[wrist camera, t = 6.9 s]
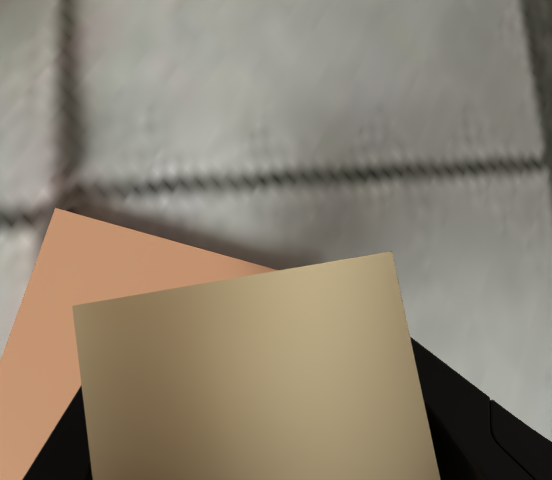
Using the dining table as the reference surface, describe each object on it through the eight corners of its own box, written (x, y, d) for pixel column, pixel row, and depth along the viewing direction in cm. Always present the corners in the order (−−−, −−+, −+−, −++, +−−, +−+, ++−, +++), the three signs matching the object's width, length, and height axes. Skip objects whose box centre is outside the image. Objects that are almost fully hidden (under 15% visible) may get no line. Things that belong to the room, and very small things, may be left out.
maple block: (294, 285, 17) (391, 251, 8) (320, 422, 17) (461, 580, 7) (159, 309, 17) (72, 305, 7) (180, 454, 16) (116, 678, 6)
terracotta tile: (310, 282, 24) (315, 280, 23) (244, 546, 22) (245, 559, 21) (63, 213, 23) (55, 208, 22) (-32, 482, 21) (-48, 493, 20)
